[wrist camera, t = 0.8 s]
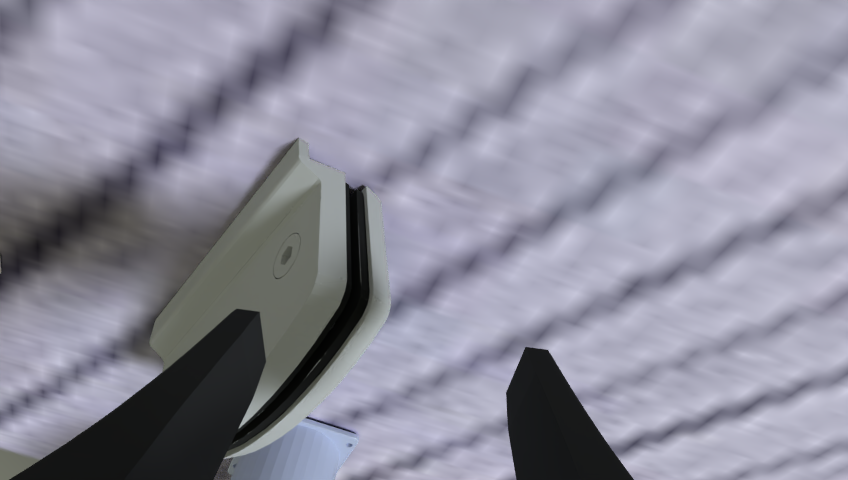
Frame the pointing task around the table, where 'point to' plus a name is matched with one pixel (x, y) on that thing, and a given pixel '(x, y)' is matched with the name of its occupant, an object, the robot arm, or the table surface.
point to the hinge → (290, 291)
